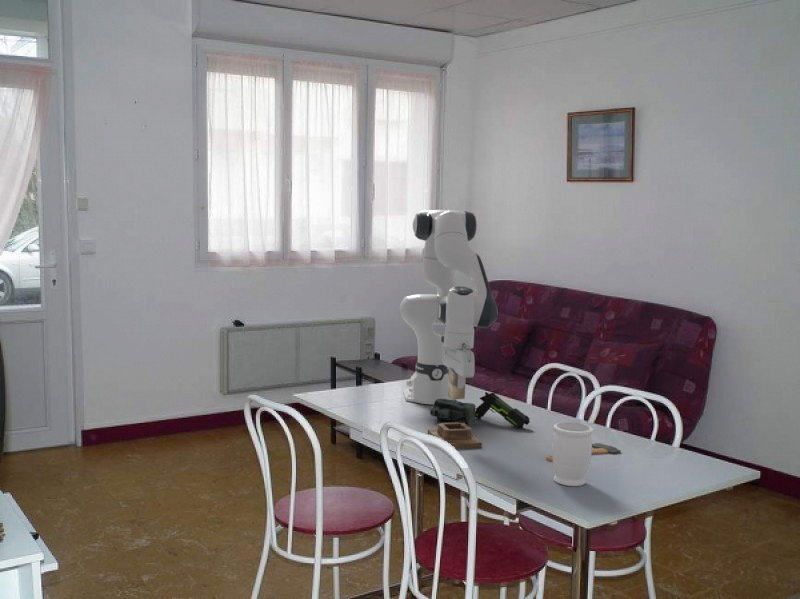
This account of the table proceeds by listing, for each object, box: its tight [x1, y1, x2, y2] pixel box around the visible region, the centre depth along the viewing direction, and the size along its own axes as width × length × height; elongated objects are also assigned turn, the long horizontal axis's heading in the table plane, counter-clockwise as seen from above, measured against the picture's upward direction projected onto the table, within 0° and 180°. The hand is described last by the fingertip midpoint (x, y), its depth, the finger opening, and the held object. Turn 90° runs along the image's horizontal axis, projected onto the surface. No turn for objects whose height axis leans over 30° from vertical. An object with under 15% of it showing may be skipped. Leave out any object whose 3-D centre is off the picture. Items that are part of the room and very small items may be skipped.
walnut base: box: [427, 422, 483, 450], centre depth 257 cm, size 16×12×4 cm
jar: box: [551, 421, 594, 487], centre depth 223 cm, size 11×10×15 cm
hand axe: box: [545, 442, 622, 463], centre depth 250 cm, size 27×2×10 cm
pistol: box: [475, 391, 531, 430], centre depth 279 cm, size 21×3×10 cm, turn 54°
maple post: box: [448, 367, 467, 400], centre depth 255 cm, size 4×4×9 cm
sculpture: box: [429, 399, 477, 426], centre depth 280 cm, size 12×8×15 cm
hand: (456, 385), depth 255 cm, fingers closed on maple post, 4 cm apart
